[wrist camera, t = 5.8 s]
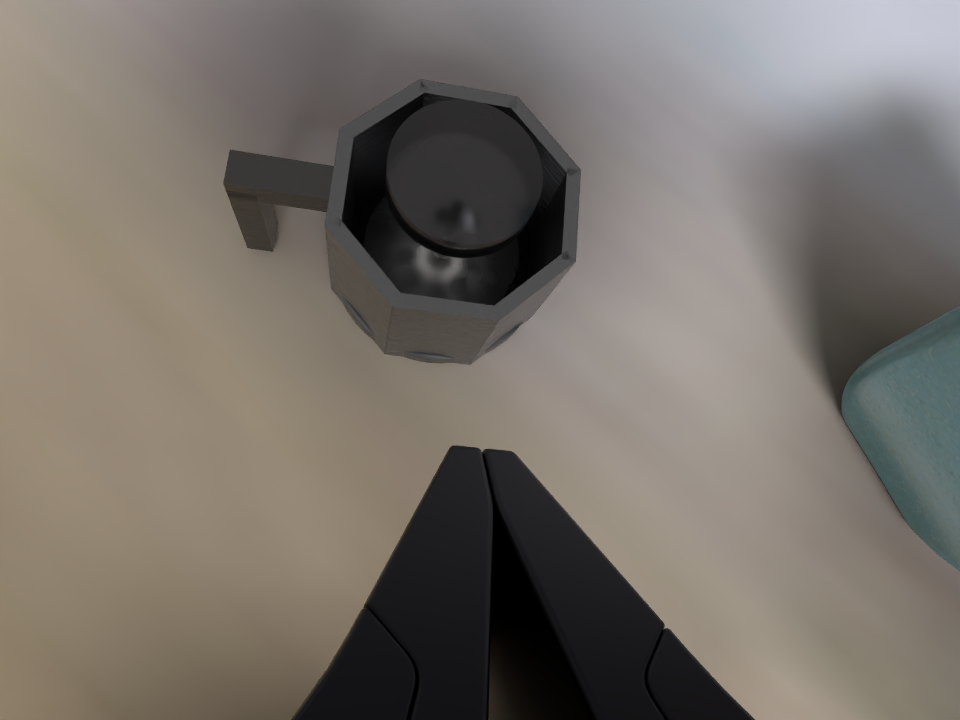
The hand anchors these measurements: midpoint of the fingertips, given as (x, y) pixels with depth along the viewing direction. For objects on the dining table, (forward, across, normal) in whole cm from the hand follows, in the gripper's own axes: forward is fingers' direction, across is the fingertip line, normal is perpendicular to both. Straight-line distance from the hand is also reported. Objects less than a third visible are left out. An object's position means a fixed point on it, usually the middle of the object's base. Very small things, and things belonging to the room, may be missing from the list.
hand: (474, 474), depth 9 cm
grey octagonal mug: (+15, +1, +3) cm, 16 cm away
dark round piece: (+15, 0, +3) cm, 15 cm away
